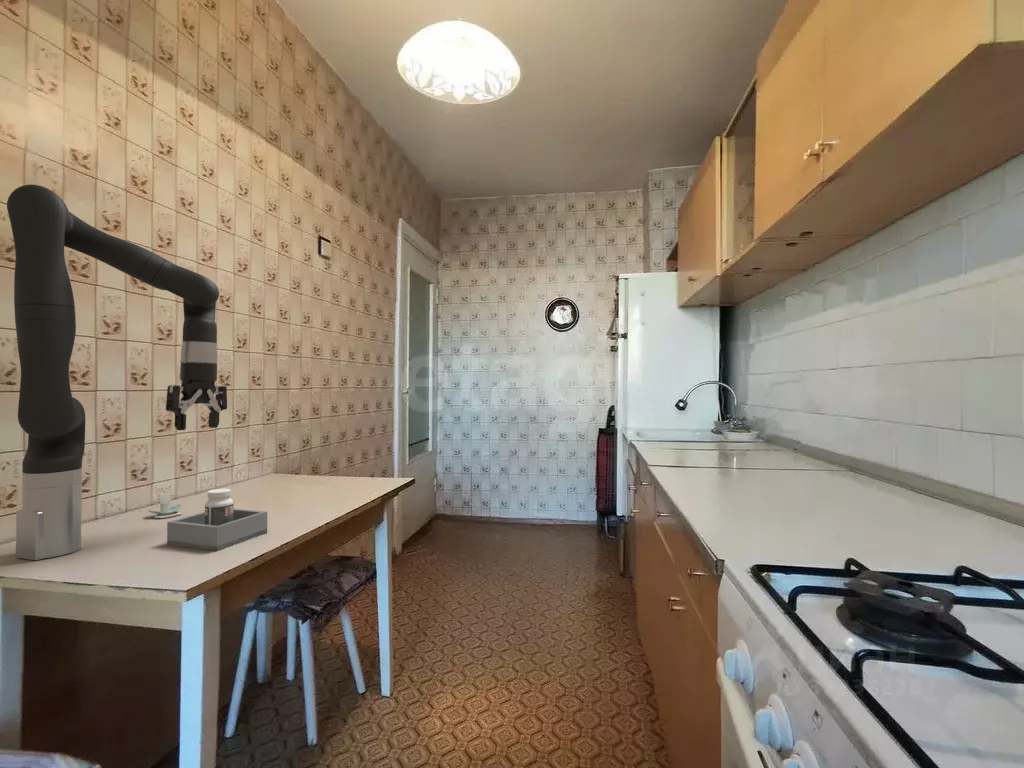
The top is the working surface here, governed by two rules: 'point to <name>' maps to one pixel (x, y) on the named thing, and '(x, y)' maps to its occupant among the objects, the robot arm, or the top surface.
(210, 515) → the pill bottle
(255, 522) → the bin
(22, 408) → the robot arm
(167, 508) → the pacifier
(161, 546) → the top surface
